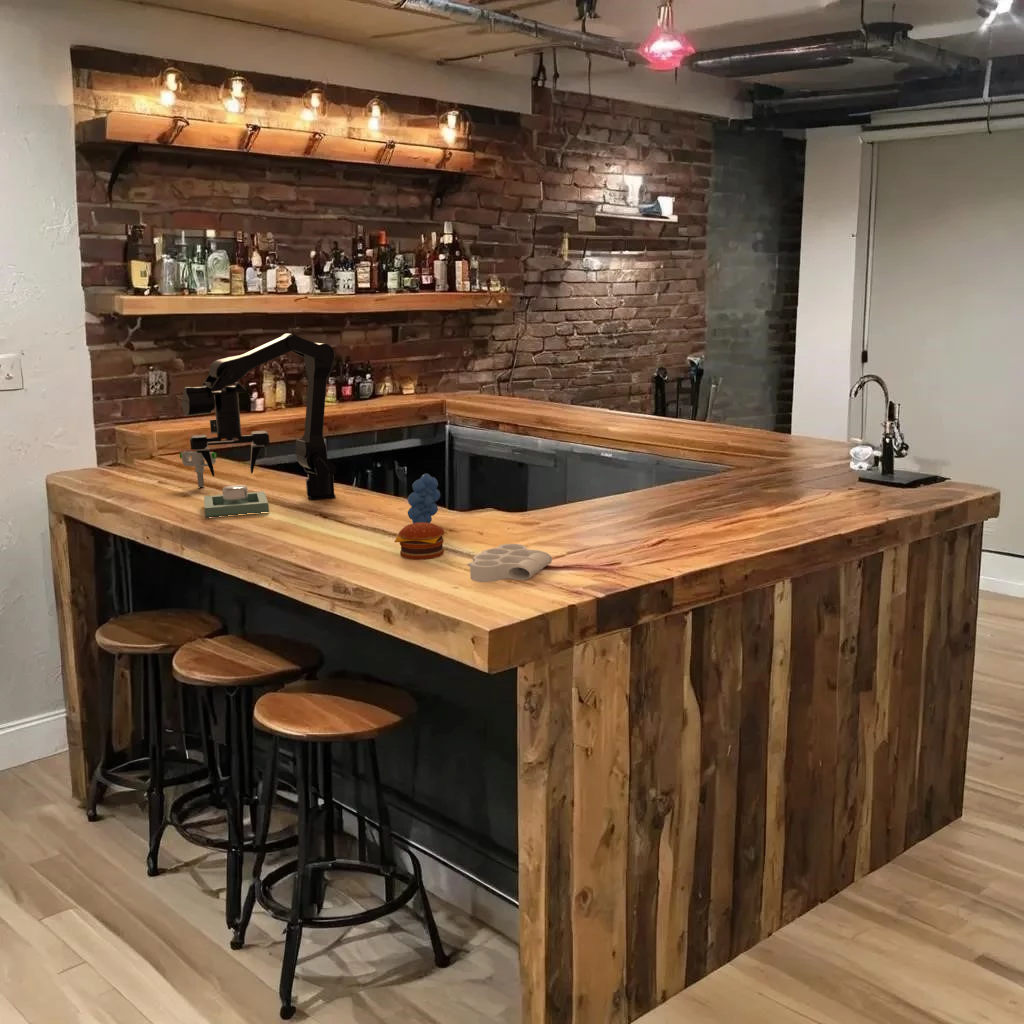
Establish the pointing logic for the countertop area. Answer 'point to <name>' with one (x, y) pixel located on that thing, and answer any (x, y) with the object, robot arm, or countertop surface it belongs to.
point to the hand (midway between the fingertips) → (232, 474)
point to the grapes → (423, 499)
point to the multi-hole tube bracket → (507, 563)
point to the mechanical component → (197, 463)
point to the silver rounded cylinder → (235, 494)
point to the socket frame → (235, 505)
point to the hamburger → (421, 541)
